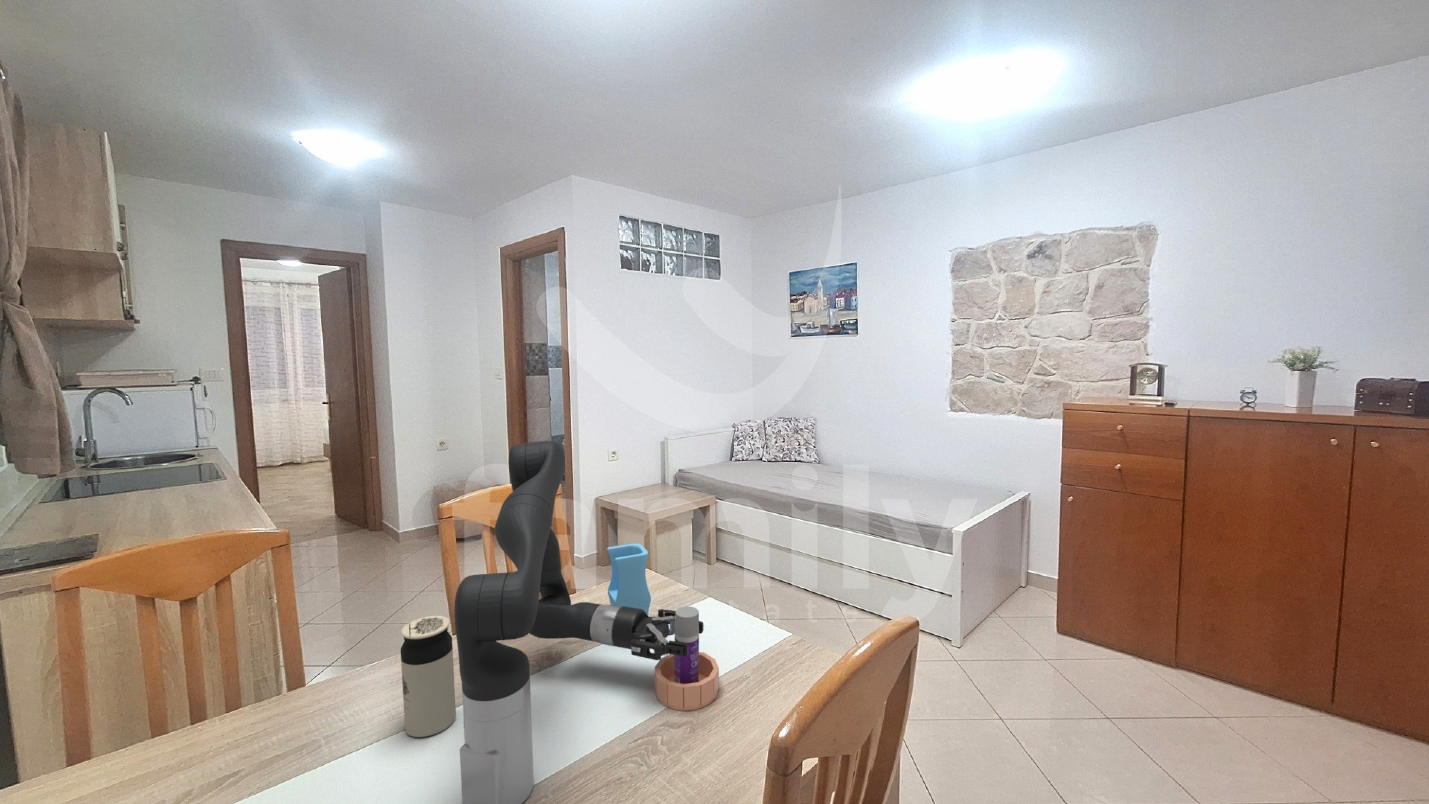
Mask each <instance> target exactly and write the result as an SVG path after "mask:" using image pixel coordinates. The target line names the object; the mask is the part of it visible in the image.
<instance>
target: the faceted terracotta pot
mask: <svg viewBox="0 0 1429 804" xmlns="http://www.w3.org/2000/svg"><path fill="white" fill-rule="evenodd" d="M719 672H720V667H719V665H718V663H717V661H716V659H715V658H714V657H712V656H711V655H709V654H707V653H706V652H704V651H703V652H702V651H699V672H698V682H696V683H689V684H681V683H675V682H674V655H672V654H668V655H666V656H662V657H661V659H660V660H658V661H657V663H656V665H655V666H654V690H655V696H656V699H657V701H658V702H659V703H660V704H661V705H663V706H664V707H667V708H668V709H671V710H675V711H680V712H688V711H689V712H690V711H695V710H699V709H702V708H705V707H707V706H709V705H710V704H711V703H713V702H714V700H715V699H716V698H717V696H718V693H719V692H718V691H719V689H720V673H719Z"/></svg>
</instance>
